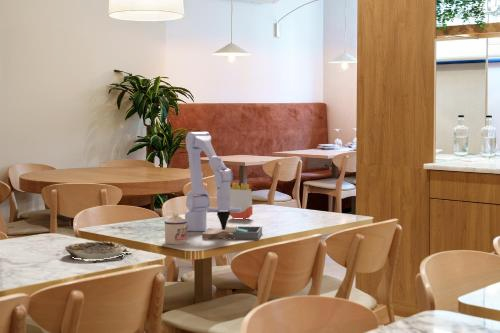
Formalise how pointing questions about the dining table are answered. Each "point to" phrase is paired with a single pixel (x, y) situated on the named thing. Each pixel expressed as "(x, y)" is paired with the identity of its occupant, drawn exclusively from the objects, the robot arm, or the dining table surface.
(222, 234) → the walnut board
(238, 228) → the teal tile
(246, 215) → the french fries container
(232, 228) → the cream tile
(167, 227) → the teacup with lid
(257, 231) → the tray
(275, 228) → the dining table surface
